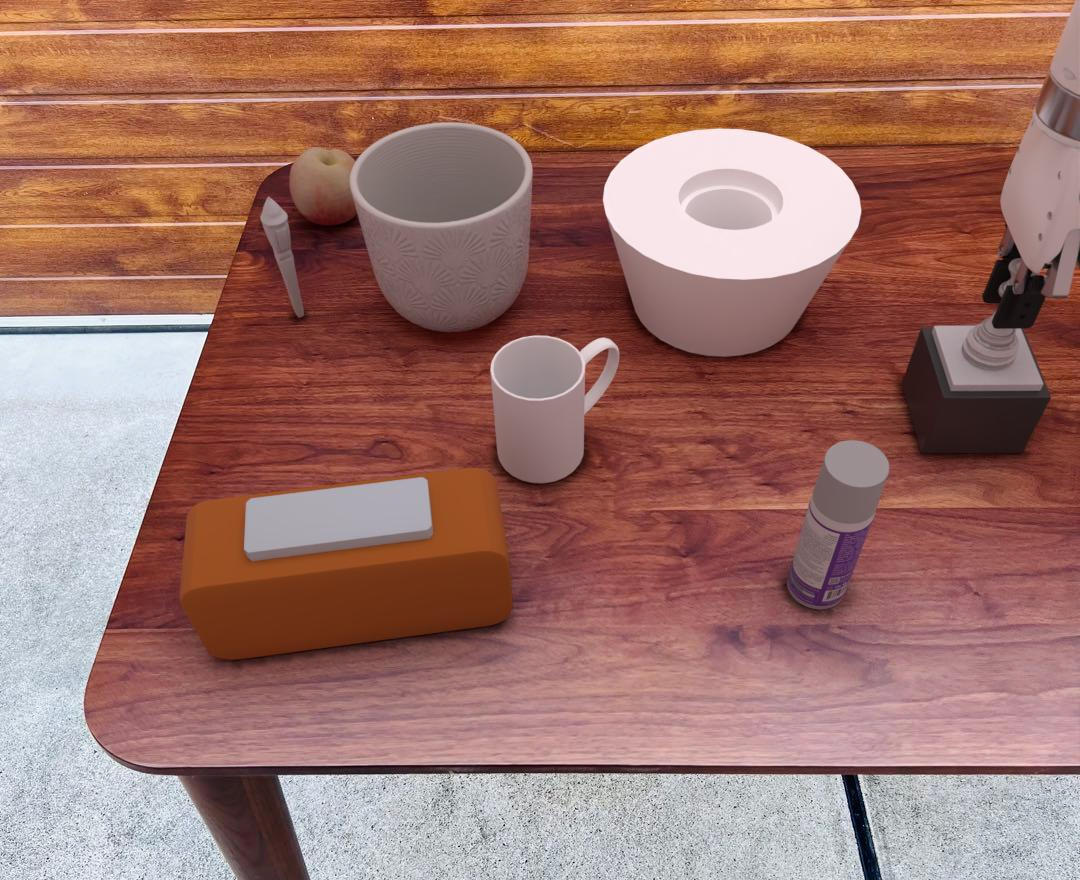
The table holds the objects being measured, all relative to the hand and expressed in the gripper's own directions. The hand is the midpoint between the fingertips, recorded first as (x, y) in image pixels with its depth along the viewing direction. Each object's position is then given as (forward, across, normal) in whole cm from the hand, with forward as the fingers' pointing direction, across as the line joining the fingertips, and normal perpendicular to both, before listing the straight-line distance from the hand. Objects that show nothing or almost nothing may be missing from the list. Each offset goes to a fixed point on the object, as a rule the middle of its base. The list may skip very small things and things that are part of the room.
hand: (1006, 312), depth 83 cm
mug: (+12, -3, +37) cm, 39 cm away
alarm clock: (+12, -21, +53) cm, 58 cm away
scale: (+12, 0, 0) cm, 12 cm away
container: (+12, -19, +16) cm, 28 cm away
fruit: (+12, +32, +63) cm, 72 cm away
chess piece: (+5, 0, 0) cm, 5 cm away
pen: (+12, +15, +64) cm, 67 cm away
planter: (+12, +17, +48) cm, 52 cm away
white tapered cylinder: (+13, +17, +21) cm, 30 cm away
